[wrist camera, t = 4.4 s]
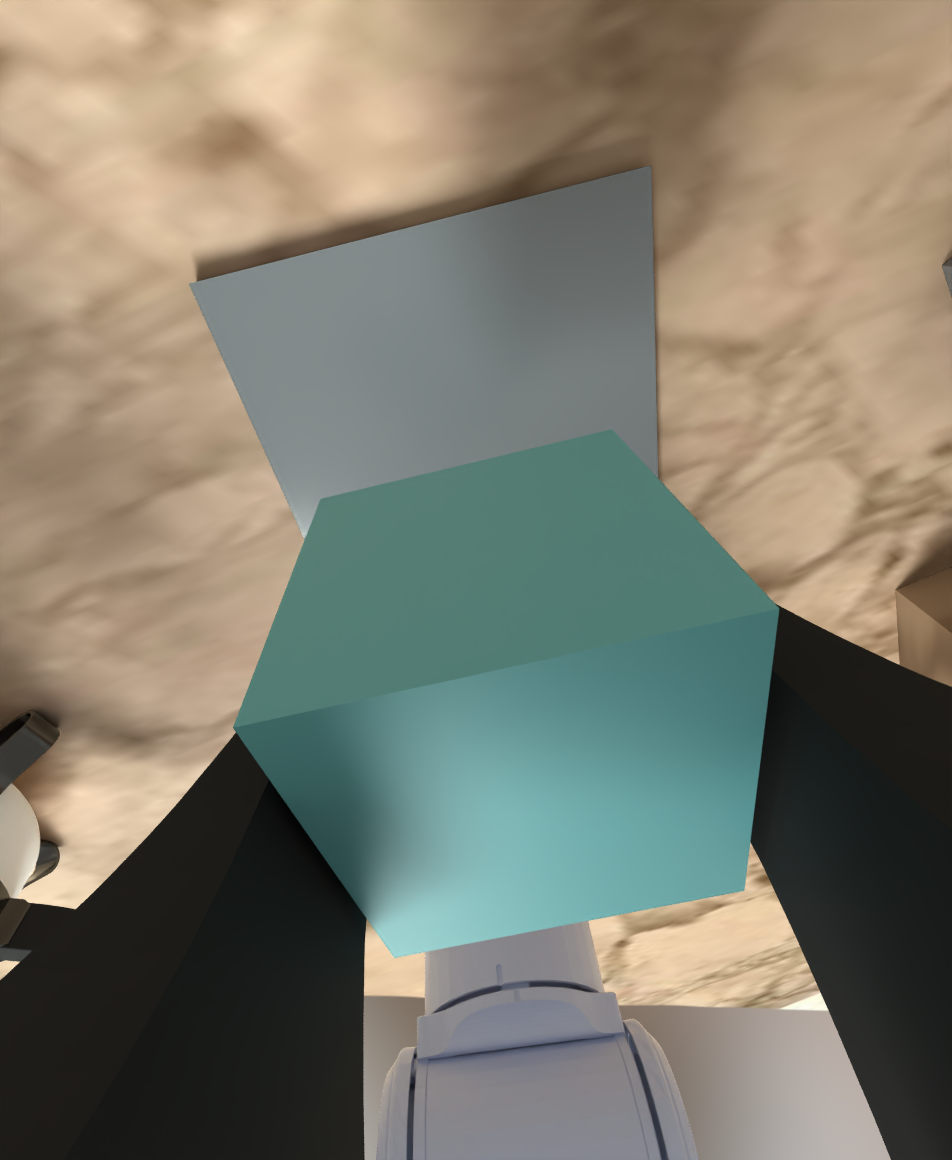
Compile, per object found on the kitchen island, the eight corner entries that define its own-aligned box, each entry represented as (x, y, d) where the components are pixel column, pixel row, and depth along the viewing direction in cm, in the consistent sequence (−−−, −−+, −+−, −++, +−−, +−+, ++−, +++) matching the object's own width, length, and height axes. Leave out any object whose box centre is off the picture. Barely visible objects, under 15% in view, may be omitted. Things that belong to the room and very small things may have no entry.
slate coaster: (655, 558, 20) (659, 565, 20) (348, 626, 21) (347, 634, 20) (644, 167, 14) (651, 165, 13) (195, 282, 14) (189, 283, 14)
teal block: (629, 652, 12) (743, 890, 7) (404, 701, 12) (394, 958, 8) (612, 429, 9) (779, 608, 5) (319, 499, 9) (234, 727, 5)
